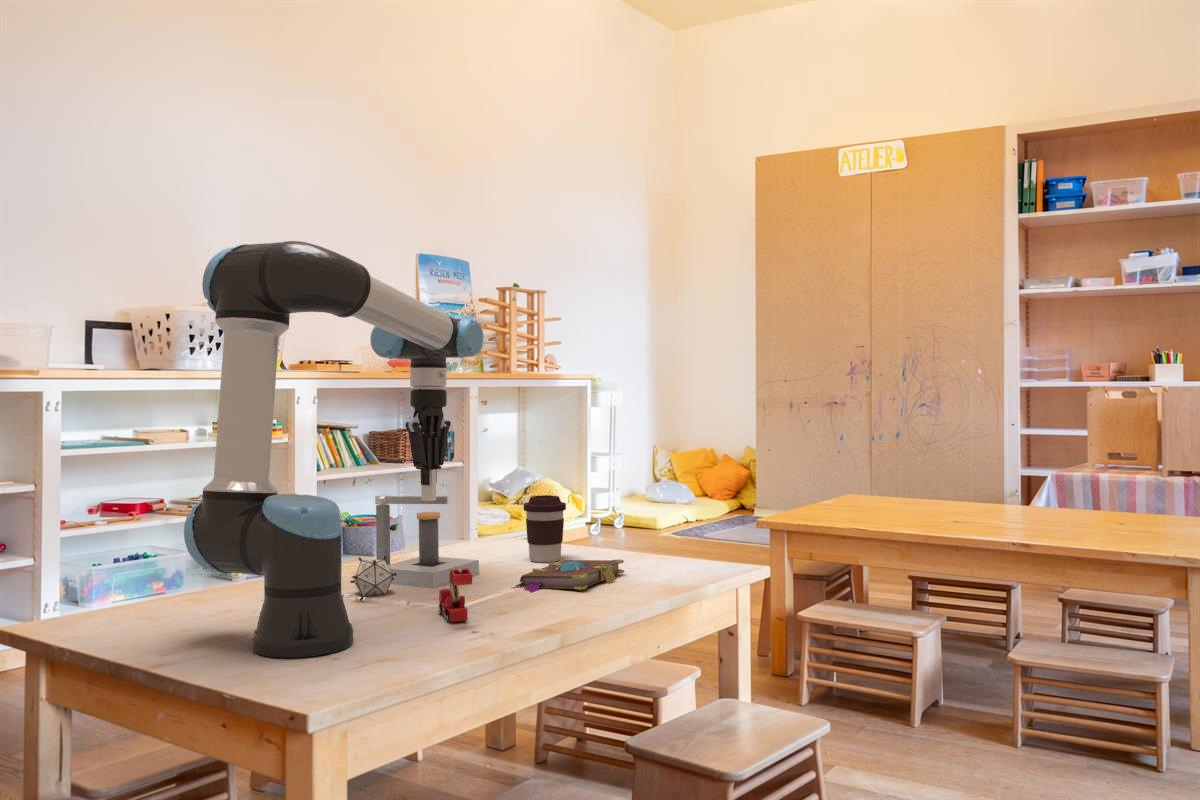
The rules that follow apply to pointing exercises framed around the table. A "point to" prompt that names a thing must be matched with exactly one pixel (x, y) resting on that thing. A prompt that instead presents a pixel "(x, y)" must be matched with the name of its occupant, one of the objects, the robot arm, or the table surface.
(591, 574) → the book
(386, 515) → the post
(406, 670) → the table surface
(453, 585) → the toy fire truck
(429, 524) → the plug
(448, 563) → the socket block
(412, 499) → the silver ball-ended lever
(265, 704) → the table surface
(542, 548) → the coffee cup
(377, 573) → the game die
